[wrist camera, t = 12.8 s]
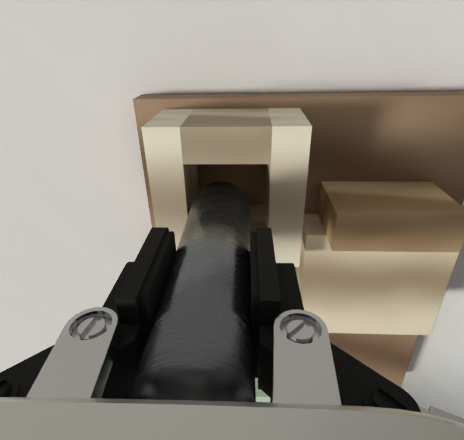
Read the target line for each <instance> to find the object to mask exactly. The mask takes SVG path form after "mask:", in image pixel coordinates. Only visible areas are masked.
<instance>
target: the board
mask: <svg viewBox="0 0 464 440" xmlns="http://www.w3.org/2000/svg"><path fill="white" fill-rule="evenodd" d="M133 102H134V109H135V115H136V122H137V129H138V136H139V142H140V149H141V156H142V162H143V169H144V176H145V183H146V189H147V196H148V203H149V210H150V216H151V223H152V227H156V226H155V219H154V212H153V205H152V198H151V191H150V185H149V178H148V171H147V164H146V157H145V150H144V143H143V136H142V129H141V127H142V126H144V125H145V124H146V123H147V122H148V121H150V120H151V119H152V118H153V117H154V116H155V115H157V114H158V113H159V112H160V111H161V110H163V109H221V108H300V109H301V110H302V112H303V113H304V115H305V116H306V118H307V119H308V121H309V122H310V124H311V125H312V132H311V143H310V154H309V165H308V176H307V187H306V198H305V209H304V214H318V215H319V218H320V221H321V223H322V226H323V229H324V231H325V234H326V237H327V239H328V242H329V245H330V247H331V250H332V251H380V252H460V250H461V247H462V245H463V242H464V207H462V206H461V204H462V201H463V198H464V91H410V92H329V93H248V94H167V95H140V96H138V97H136V98H135V99H133ZM198 176H199V190H200V189H201V188H202V187H203V186H205V185H206V184H209V183H211V182H216V181H226V182H230V183H233V184H235V185H237V186H239V187H240V188H241V189H242V190H243V191H244V192H245V193H246V194H247V196H248V198H249V200H250V204H265V189H266V164H198ZM295 270H296V267H295ZM328 334H329V339H330V342H331V343H332V344H334V345H335V346H337V347H338V348H340V349H341V350H343V351H345V352H346V353H348V354H349V355H351V356H352V357H354V358H355V359H357V360H359V361H360V362H362V363H363V364H365V365H366V366H368V367H369V368H371V369H373V370H374V371H376V372H377V373H379V374H380V375H382V376H383V377H385V378H387V379H388V380H390V381H391V382H393V383H394V384H396V385H397V386H399V387H401V385H402V382H403V379H404V376H405V373H406V370H407V367H408V364H409V361H410V358H411V355H412V352H413V349H414V346H415V343H416V340H417V337H418V335H395V334H353V333H328Z"/></svg>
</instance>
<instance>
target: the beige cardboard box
mask: <svg viewBox="0 0 464 440" xmlns="http://www.w3.org/2000/svg"><path fill="white" fill-rule="evenodd" d="M458 254H459V252H380V251H332V250H331V247H330V245H329V242H328V239H327V237H326V234H325V231H324V229H323V226H322V223H321V221H320V218H319V215H318V214H304V220H303V231H302V241H301V252H300V263H299V267H296V274H297V279H298V284H299V288H300V293H301V297H302V302H303V307H304V310H305V311H309V312H311V313H314V314H315V315H317V316H318V317H320V318H321V319H322V320H323V321H324V323H325V324H326V327H327V329H328V333H353V334H395V335H430V333H431V330H432V327H433V325H434V322H435V319H436V316H437V313H438V310H439V308H440V305H441V302H442V299H443V296H444V294H445V291H446V288H447V285H448V282H449V280H450V277H451V274H452V271H453V268H454V266H455V263H456V260H457V257H458Z"/></svg>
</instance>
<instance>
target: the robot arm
mask: <svg viewBox="0 0 464 440" xmlns="http://www.w3.org/2000/svg"><path fill="white" fill-rule="evenodd" d="M175 254H176V243H175V235H174V232H173V231H169V228H168V227H152V229H151V230H150V232H149V234H148V236H147V238H146V240H145V242H144V244H143V246H142V248H141V250H140V252H139V254H138V256H137V258H136V260H135V261H134V262H128V263H127V264H126V265H125V267H124V269H123V271H122V272H121V274H120V276H119V278H118V280H117V281H116V283H115V285H114V287H113V289H112V291H111V292H110V294H109V296H108V298H107V300H106V302H105V303H104V305H103V307H96V308H90V309H87V310H84V311H82V312H80V313H78V314H76V315H75V316H74V317H72V318H71V319H70V320H69V321H68V322H67V324H66V325H65V327H64V328H63V330H62V332H61V334H60V336H59V338H58V339H57V341H56V343H55V345H53V346H51V347H49V348H47V349H45V350H43V351H41V352H40V353H38V354H36V355H34V356H32V357H30V358H28V359H26V360H24V361H22V362H20V363H18V364H16V365H14V366H13V367H11V368H9V369H7V370H5V371H3V372H1V373H0V440H464V419H462V418H460V417H457V416H455V415H452V414H450V413H447V412H445V411H442V410H439V409H437V408H434V407H432V406H430V408H429V410H426V409H424V408H421V407H419V406H418V404H417V403H416V401H415V400H414V399H413V398H412V397H411V395H410V394H408V393H407V392H406V391H404V390H403V389H402V388H401V387H399V386H397V385H396V384H394V383H393V382H391V381H390V380H388V379H387V378H385V377H383V376H382V375H380V374H379V373H377V372H376V371H374V370H373V369H371V368H369V367H368V366H366V365H365V364H363V363H362V362H360V361H359V360H357V359H355V358H354V357H352V356H351V355H349V354H348V353H346V352H345V351H343V350H341V349H340V348H338V347H337V346H335V345H334V344H332V343H331V342H330V339H329V334H328V329H327V327H326V324H325V323H324V321H323V320H322V319H321V318H320V317H318V316H317V315H315V314H314V313H311V312H309V311H305V310H304V307H303V302H302V297H301V293H300V288H299V284H298V279H297V274H296V270H295V266H294V263H276V260H275V252H274V245H273V237H272V230H271V228H256V232H255V231H250V279H251V332H252V334H253V337H254V350H255V378H258V389H260V390H262V391H263V392H264V393H265V394H266V395H268V396H269V397H270V403H267V402H232V401H193V400H150V399H129V393H130V390H131V387H132V384H133V381H134V378H135V375H136V372H137V369H138V366H139V363H140V360H141V356H142V353H143V350H144V347H145V344H146V341H147V338H148V335H149V332H150V329H151V326H152V323H153V320H154V317H155V314H156V311H157V308H158V305H159V302H160V299H161V296H162V293H163V290H164V287H165V284H166V281H167V278H168V275H169V272H170V269H171V266H172V263H173V260H174V257H175Z"/></svg>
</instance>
